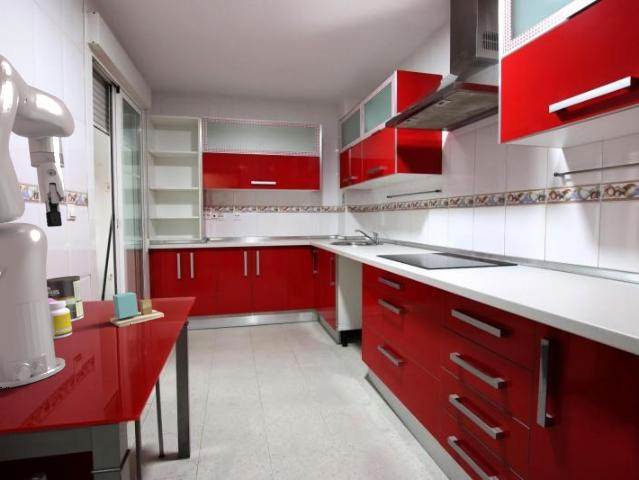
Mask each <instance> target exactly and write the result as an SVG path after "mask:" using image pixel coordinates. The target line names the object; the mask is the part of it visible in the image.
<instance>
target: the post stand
mask: <svg viewBox="0 0 639 480" xmlns="http://www.w3.org/2000/svg"><path fill="white" fill-rule="evenodd" d="M139 306H140V307H139V308H140V311H138V315H134V316H129V317H125V318H118V317H116V316H114V317H112V318H111V317H110V318H109V322H110V323H111V324H114V325H115V326H117V327H119V328H122V327H127V326H130V324H131V325H134V324H139V323H143V322H147V321H150V320H155V319H159V318H164V317H165V315H164V313H163V312H161V311H158V310H156V309H153V305H152V300H151V299H149V298H147V299H143V300H142V299H141V300H139Z"/></svg>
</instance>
